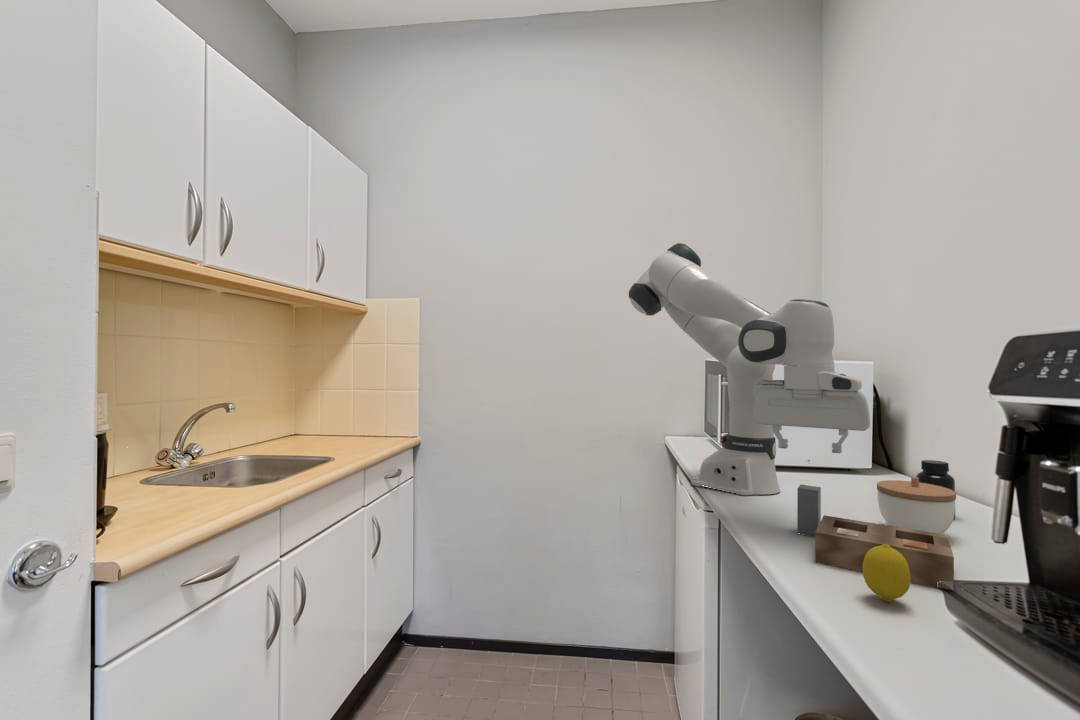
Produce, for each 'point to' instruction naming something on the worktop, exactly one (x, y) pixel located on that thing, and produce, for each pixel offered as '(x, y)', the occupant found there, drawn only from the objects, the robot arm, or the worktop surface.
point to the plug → (808, 509)
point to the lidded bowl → (916, 505)
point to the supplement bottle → (936, 474)
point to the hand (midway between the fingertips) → (809, 450)
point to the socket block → (854, 539)
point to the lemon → (886, 572)
